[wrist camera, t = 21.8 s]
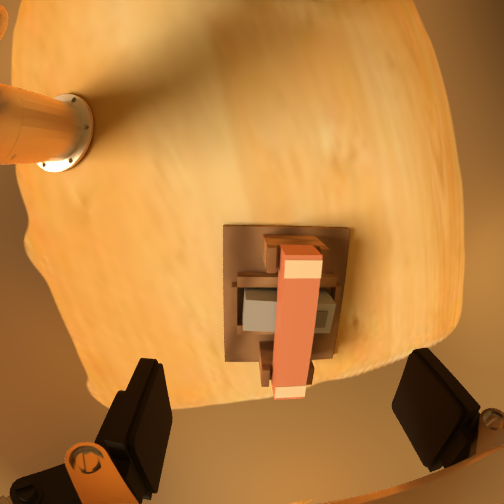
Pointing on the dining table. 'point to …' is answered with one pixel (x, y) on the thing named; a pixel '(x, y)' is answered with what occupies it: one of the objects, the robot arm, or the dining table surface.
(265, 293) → the grey rectangular block
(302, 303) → the orange banded bar
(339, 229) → the jig
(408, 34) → the dining table surface
